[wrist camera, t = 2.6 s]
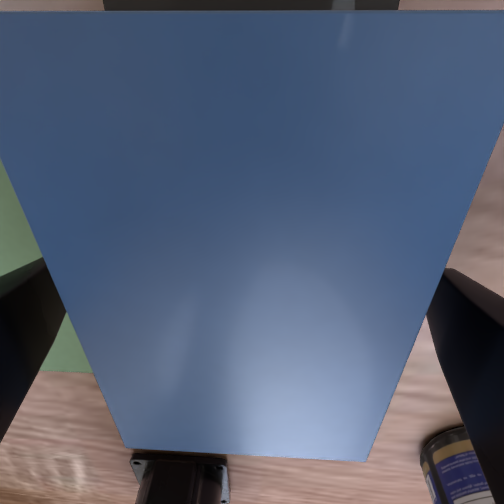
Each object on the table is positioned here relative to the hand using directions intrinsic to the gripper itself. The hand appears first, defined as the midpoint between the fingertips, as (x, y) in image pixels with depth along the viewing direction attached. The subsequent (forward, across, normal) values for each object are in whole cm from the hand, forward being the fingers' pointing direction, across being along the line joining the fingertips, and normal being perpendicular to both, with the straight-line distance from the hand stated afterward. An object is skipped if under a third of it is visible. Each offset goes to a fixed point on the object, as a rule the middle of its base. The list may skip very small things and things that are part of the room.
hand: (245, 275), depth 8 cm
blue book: (+1, 0, 0) cm, 1 cm away
